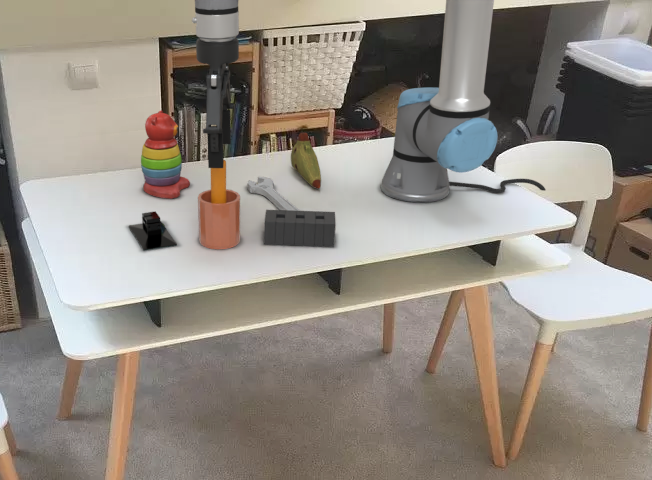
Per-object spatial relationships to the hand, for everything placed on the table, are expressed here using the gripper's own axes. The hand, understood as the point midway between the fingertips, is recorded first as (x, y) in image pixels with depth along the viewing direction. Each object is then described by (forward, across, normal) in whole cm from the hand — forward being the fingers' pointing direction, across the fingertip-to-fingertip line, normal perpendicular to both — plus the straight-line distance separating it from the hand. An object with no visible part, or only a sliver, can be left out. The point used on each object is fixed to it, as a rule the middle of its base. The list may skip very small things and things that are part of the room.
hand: (220, 155), depth 145 cm
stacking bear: (+18, -27, -16) cm, 36 cm away
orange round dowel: (+17, 0, -1) cm, 17 cm away
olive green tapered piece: (+18, -37, +16) cm, 44 cm away
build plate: (+18, -1, -14) cm, 23 cm away
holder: (+18, -2, +16) cm, 24 cm away
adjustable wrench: (+18, -21, +10) cm, 29 cm away
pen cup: (+18, 0, 0) cm, 18 cm away
